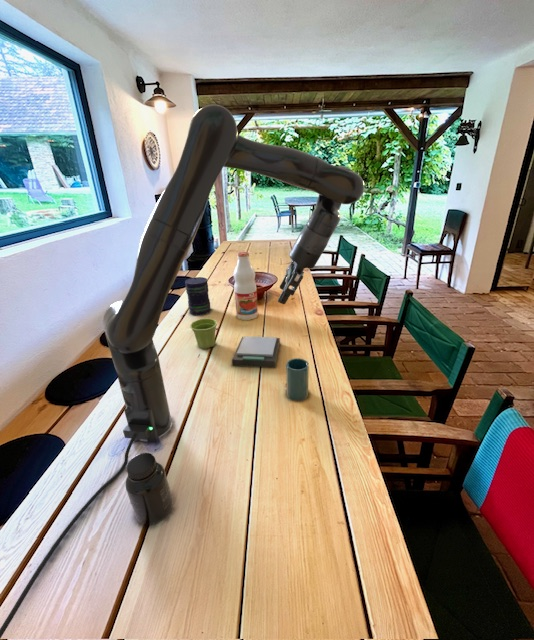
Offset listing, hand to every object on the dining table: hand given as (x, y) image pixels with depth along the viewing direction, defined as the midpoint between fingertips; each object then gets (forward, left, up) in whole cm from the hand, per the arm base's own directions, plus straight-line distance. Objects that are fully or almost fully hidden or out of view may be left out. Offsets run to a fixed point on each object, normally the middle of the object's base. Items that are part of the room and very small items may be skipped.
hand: (281, 295), depth 92 cm
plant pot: (+14, +30, -25) cm, 42 cm away
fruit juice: (+41, +20, -25) cm, 52 cm away
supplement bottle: (-49, +20, -25) cm, 59 cm away
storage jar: (+45, +43, -25) cm, 67 cm away
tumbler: (-12, -5, -25) cm, 28 cm away
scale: (+9, +10, -25) cm, 29 cm away
